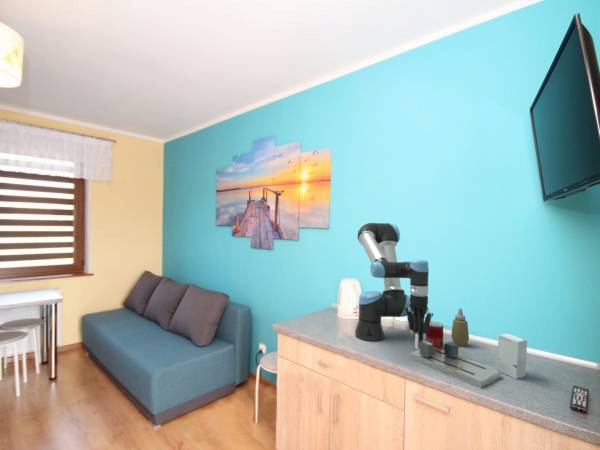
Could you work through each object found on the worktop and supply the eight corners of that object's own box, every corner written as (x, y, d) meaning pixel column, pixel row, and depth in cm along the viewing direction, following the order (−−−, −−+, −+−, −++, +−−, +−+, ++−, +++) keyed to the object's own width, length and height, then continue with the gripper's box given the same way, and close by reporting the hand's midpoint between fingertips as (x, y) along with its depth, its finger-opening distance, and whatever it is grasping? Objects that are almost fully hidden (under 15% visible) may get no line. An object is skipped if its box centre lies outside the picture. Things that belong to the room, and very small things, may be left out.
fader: (419, 354, 133) (419, 341, 133) (425, 352, 135) (425, 339, 135) (428, 357, 130) (428, 344, 130) (433, 355, 132) (433, 342, 132)
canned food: (444, 349, 147) (445, 326, 147) (427, 347, 148) (427, 325, 149) (440, 343, 154) (441, 321, 155) (424, 342, 156) (424, 320, 156)
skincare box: (496, 370, 126) (496, 334, 126) (505, 368, 128) (506, 332, 128) (517, 379, 118) (518, 341, 118) (527, 377, 120) (527, 339, 120)
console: (409, 358, 135) (409, 340, 135) (430, 351, 144) (430, 334, 144) (481, 388, 111) (481, 366, 111) (500, 377, 120) (501, 357, 120)
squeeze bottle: (452, 346, 151) (453, 309, 152) (449, 340, 159) (450, 306, 159) (470, 348, 149) (471, 311, 149) (467, 342, 157) (467, 307, 157)
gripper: (401, 292, 139) (400, 344, 139) (427, 298, 129) (426, 354, 128) (411, 291, 144) (410, 341, 143) (437, 296, 133) (436, 351, 132)
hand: (418, 347), depth 136 cm, fingers closed
